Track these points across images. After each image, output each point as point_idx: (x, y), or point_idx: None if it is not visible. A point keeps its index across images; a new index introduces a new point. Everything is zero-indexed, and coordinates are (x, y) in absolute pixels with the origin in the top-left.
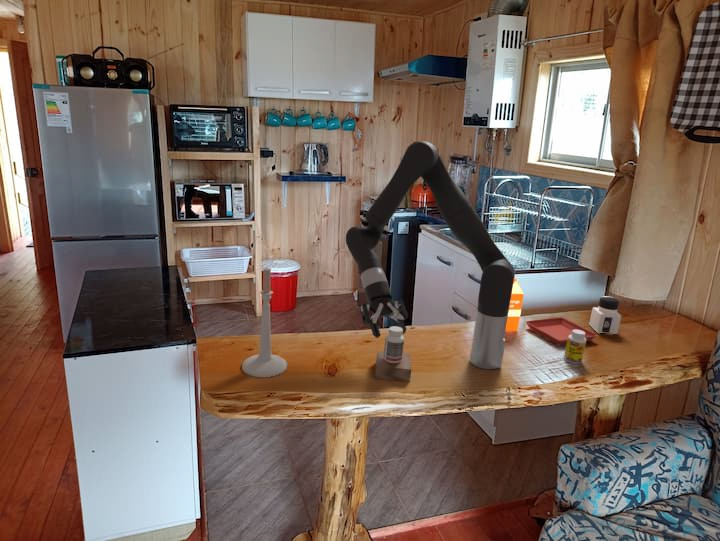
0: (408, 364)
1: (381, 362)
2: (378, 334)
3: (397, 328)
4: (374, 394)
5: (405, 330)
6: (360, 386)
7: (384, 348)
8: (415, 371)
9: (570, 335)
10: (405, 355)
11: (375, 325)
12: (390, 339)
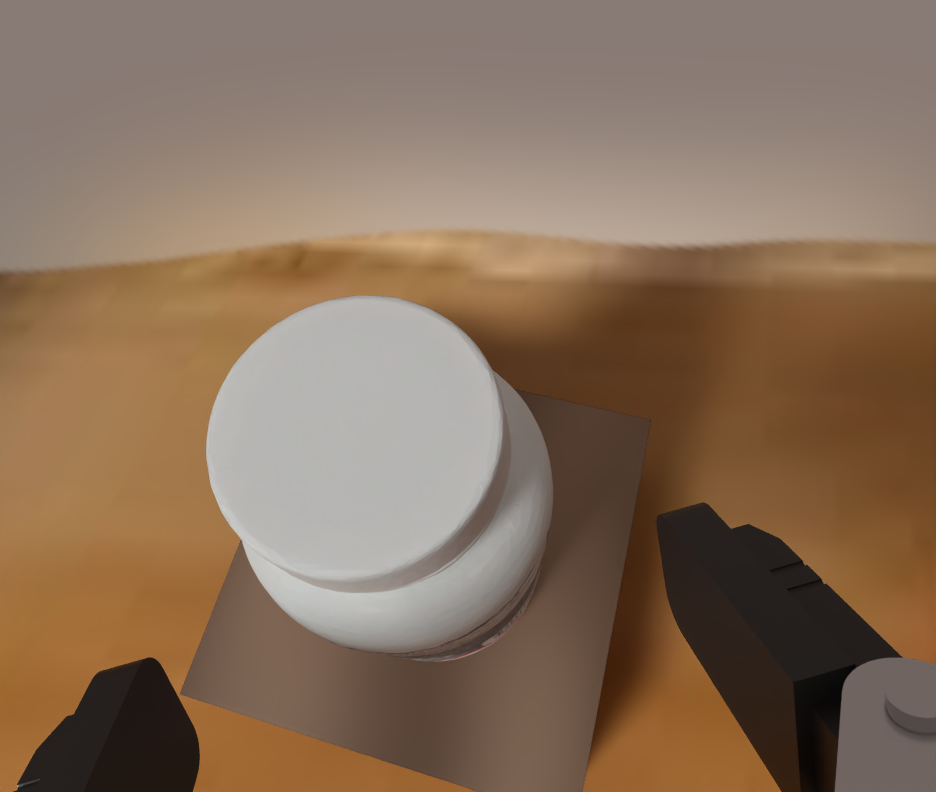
0: None
1: (578, 493)
2: (702, 506)
3: (311, 443)
4: (664, 249)
5: (93, 677)
6: (763, 353)
7: (542, 559)
8: (224, 574)
9: None
10: (252, 655)
11: (826, 636)
12: (498, 380)
